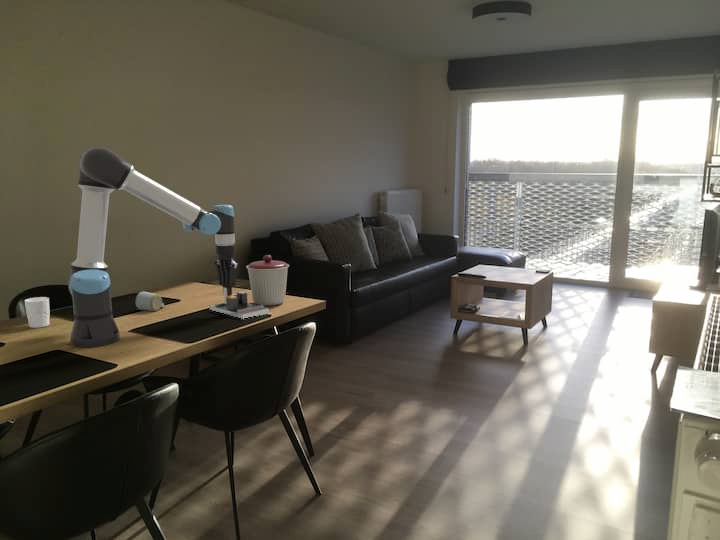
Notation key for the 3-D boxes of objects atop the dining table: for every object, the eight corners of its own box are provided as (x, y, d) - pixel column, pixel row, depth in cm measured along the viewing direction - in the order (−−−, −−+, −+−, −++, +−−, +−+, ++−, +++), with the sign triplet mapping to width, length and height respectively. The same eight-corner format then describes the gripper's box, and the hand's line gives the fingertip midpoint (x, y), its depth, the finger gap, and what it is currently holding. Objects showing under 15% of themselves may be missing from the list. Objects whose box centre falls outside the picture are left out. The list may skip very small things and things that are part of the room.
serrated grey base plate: (242, 319, 218) (241, 301, 217) (209, 310, 232) (208, 294, 231) (269, 313, 228) (268, 296, 226) (235, 305, 242) (235, 289, 241)
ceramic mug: (151, 313, 229) (150, 294, 228) (135, 311, 232) (134, 293, 231) (169, 307, 239) (168, 289, 238) (153, 306, 242) (152, 288, 240)
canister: (283, 308, 235) (281, 258, 231) (241, 307, 238) (239, 257, 234) (295, 299, 253) (293, 252, 249) (256, 298, 255) (254, 251, 252)
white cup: (56, 323, 214) (53, 297, 212) (39, 329, 207) (36, 302, 205) (39, 322, 216) (36, 296, 214) (22, 327, 209) (19, 301, 207)
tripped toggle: (232, 310, 223) (232, 297, 222) (226, 308, 225) (226, 296, 225) (238, 308, 225) (237, 296, 224) (232, 307, 227) (231, 295, 226)
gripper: (243, 244, 221) (245, 303, 225) (223, 242, 230) (226, 299, 234) (227, 246, 216) (230, 307, 220) (207, 244, 224) (210, 302, 228)
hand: (228, 303), depth 227 cm, fingers closed
